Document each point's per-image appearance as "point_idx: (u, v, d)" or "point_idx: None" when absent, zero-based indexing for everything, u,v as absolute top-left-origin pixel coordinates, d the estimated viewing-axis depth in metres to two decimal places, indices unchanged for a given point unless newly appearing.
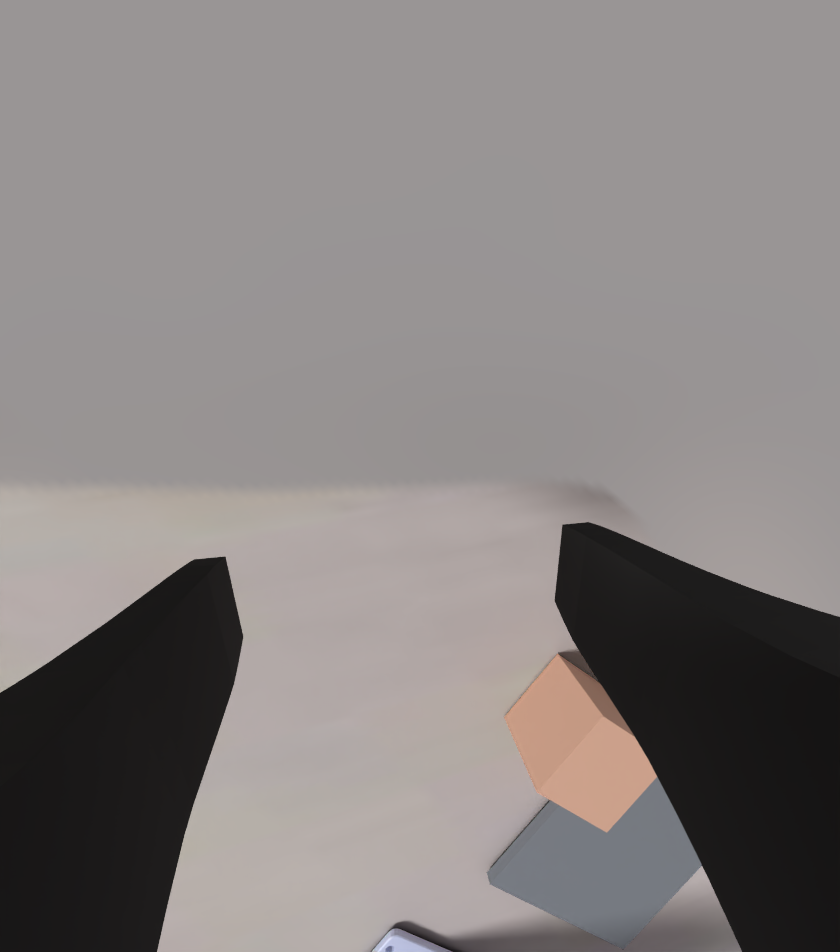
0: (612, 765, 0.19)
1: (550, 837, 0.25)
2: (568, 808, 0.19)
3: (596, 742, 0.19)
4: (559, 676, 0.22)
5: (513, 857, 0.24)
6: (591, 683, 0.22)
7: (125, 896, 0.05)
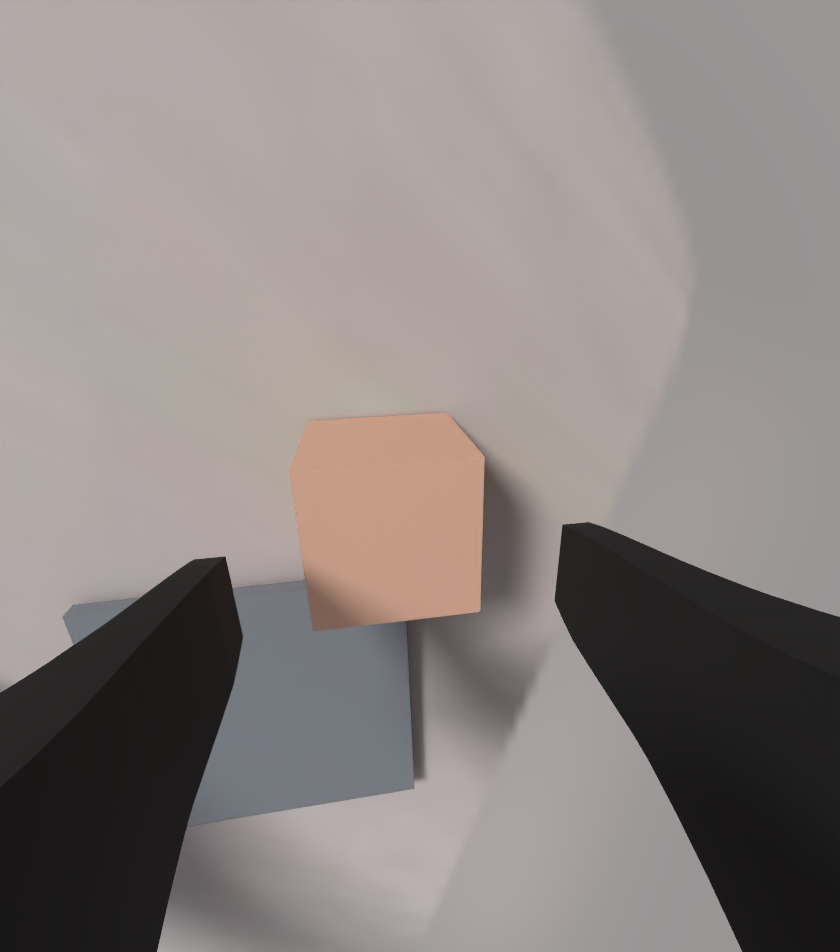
0: (417, 543, 0.11)
1: None
2: (303, 545, 0.10)
3: (436, 487, 0.10)
4: (434, 422, 0.13)
5: None
6: None
7: (125, 896, 0.05)
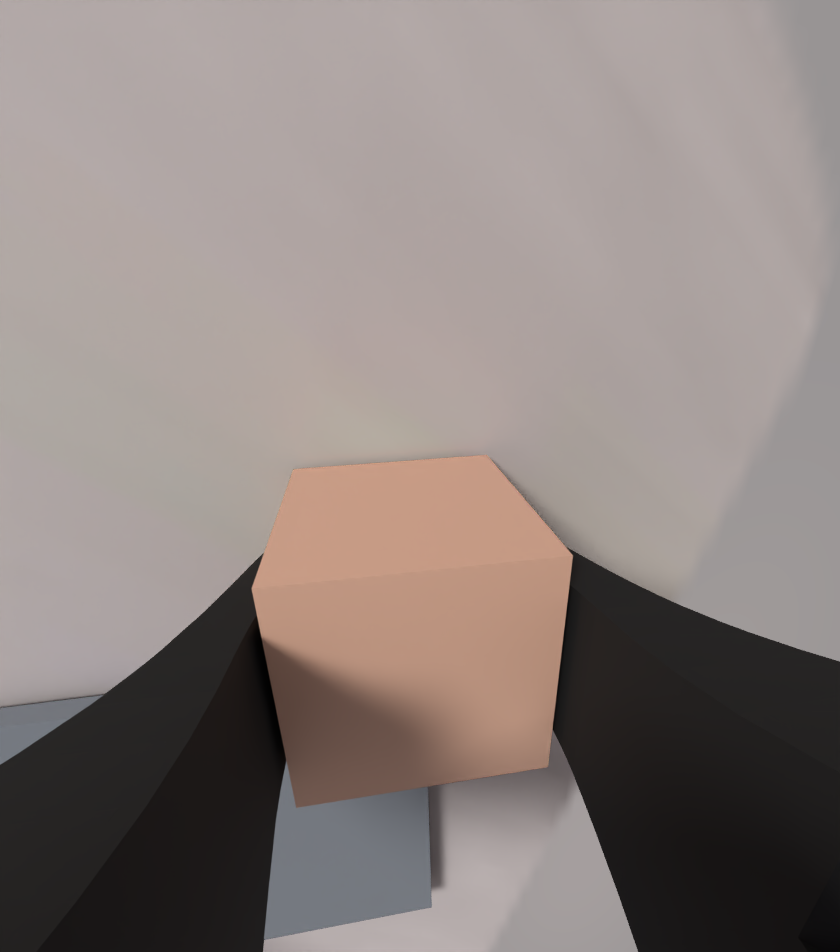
0: (461, 682, 0.07)
1: None
2: (278, 693, 0.06)
3: (494, 603, 0.06)
4: (473, 474, 0.09)
5: (56, 718, 0.11)
6: None
7: (245, 875, 0.05)
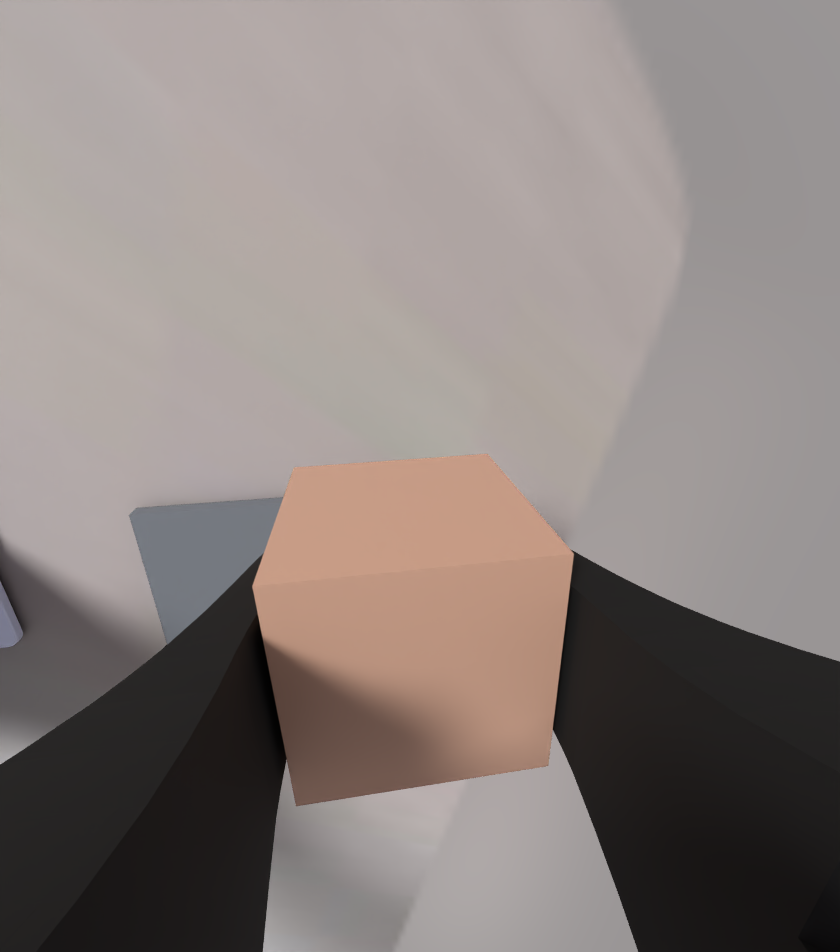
0: (461, 681, 0.07)
1: (251, 530, 0.17)
2: (279, 691, 0.06)
3: (494, 601, 0.06)
4: (473, 473, 0.09)
5: (188, 510, 0.16)
6: None
7: (245, 874, 0.05)
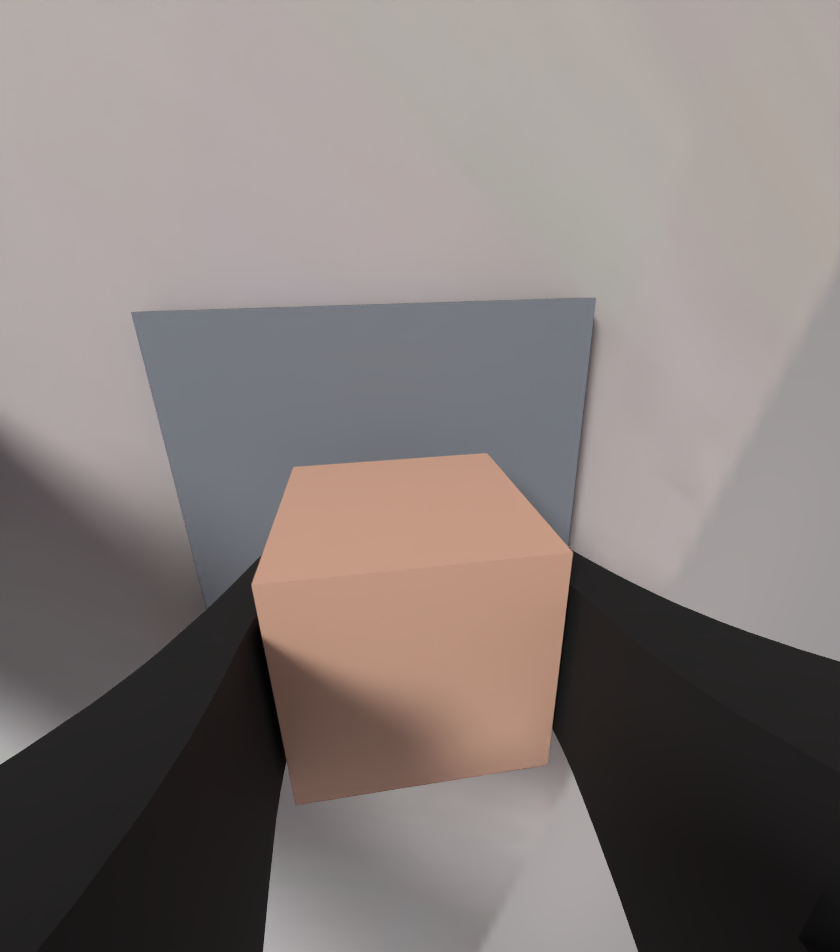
0: (460, 680, 0.07)
1: (324, 352, 0.11)
2: (278, 690, 0.06)
3: (493, 600, 0.06)
4: (473, 472, 0.09)
5: (227, 309, 0.10)
6: None
7: (246, 875, 0.05)
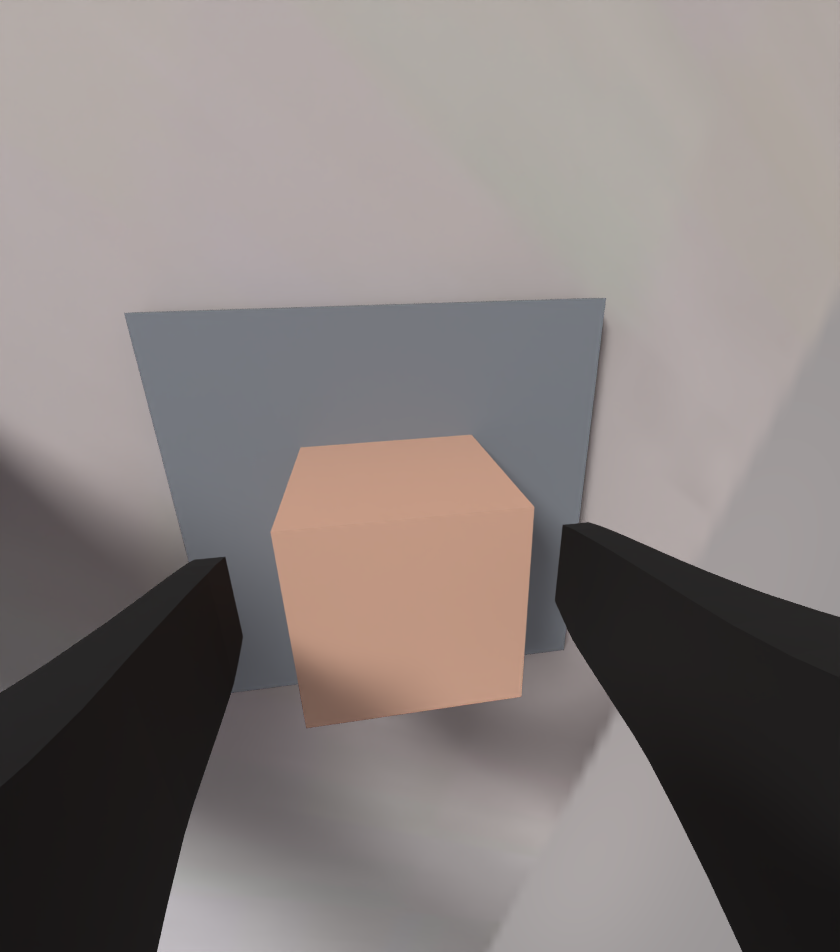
0: (444, 617, 0.08)
1: (325, 354, 0.10)
2: (292, 624, 0.08)
3: (469, 547, 0.08)
4: (457, 449, 0.11)
5: (224, 310, 0.10)
6: None
7: (125, 896, 0.05)
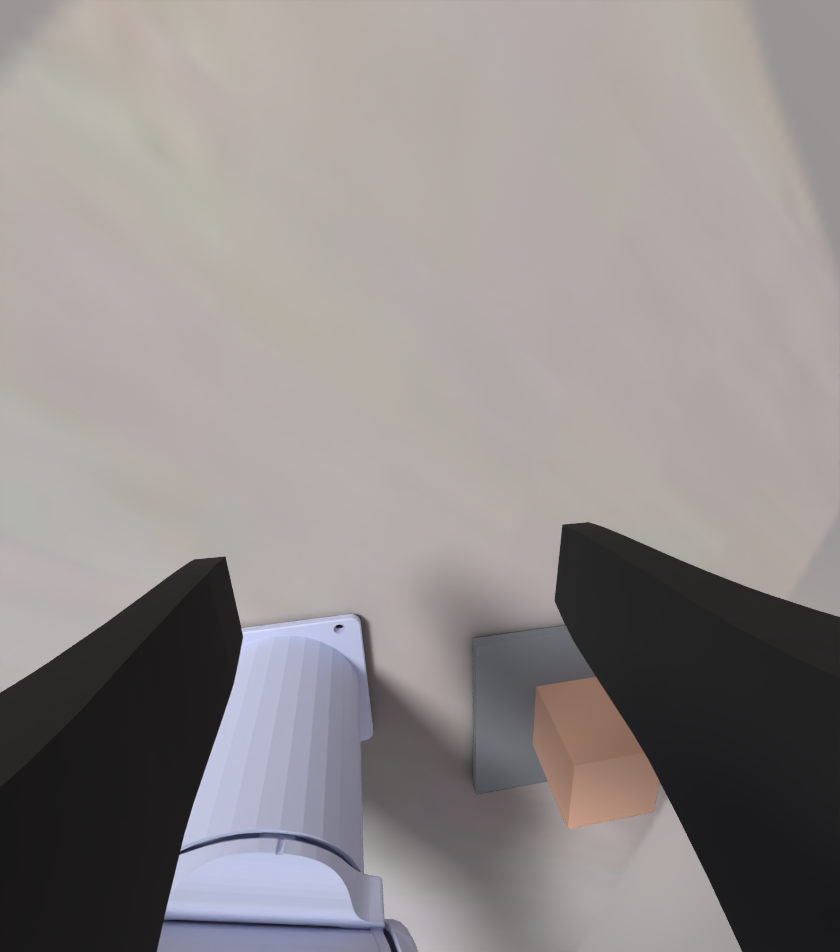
0: (628, 786, 0.21)
1: (554, 651, 0.23)
2: (572, 793, 0.20)
3: (641, 763, 0.20)
4: None
5: (515, 640, 0.22)
6: None
7: (125, 896, 0.05)
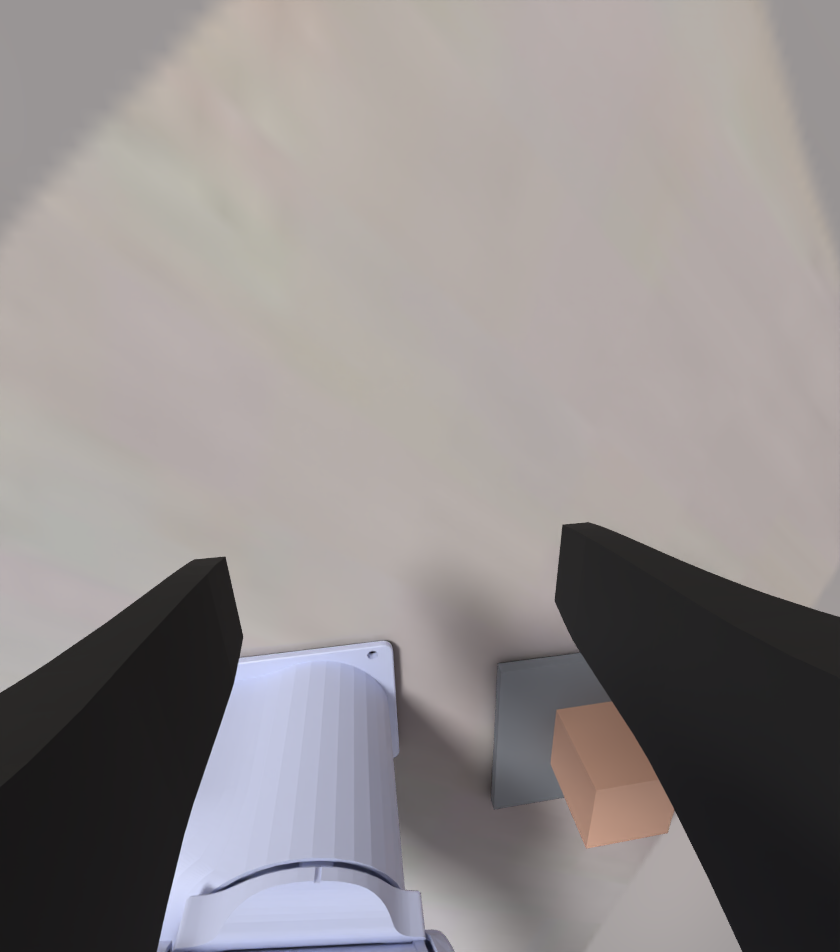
0: (645, 809, 0.22)
1: (575, 677, 0.24)
2: (593, 815, 0.21)
3: (659, 788, 0.21)
4: None
5: (539, 666, 0.23)
6: None
7: (125, 896, 0.05)
